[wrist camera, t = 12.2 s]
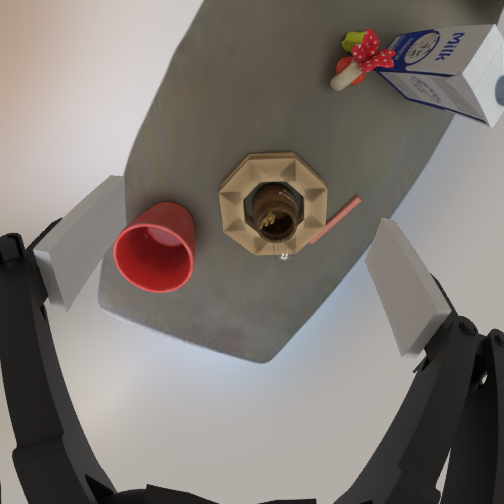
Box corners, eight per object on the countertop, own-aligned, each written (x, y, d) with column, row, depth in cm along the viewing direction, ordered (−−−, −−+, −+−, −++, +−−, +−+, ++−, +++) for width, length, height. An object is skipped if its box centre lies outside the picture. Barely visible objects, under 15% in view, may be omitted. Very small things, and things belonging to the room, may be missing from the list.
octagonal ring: (270, 131, 36) (271, 136, 34) (341, 199, 41) (347, 207, 39) (203, 204, 42) (200, 214, 40) (275, 259, 47) (275, 270, 45)
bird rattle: (354, 91, 34) (398, 50, 27) (357, 126, 28) (417, 74, 21) (318, 63, 32) (361, 18, 26) (311, 89, 26) (369, 29, 19)
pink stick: (356, 194, 41) (358, 197, 40) (359, 198, 41) (361, 200, 40) (307, 238, 45) (308, 241, 44) (311, 241, 45) (311, 244, 45)
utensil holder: (264, 226, 44) (266, 278, 34) (244, 191, 41) (240, 236, 31) (301, 210, 42) (315, 259, 32) (283, 173, 39) (292, 213, 29)
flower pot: (211, 250, 47) (201, 291, 38) (147, 256, 47) (128, 295, 39) (198, 187, 41) (182, 219, 33) (129, 197, 42) (101, 229, 33)
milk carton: (397, 34, 27) (496, 22, 10) (431, 67, 29) (535, 84, 12) (371, 68, 31) (463, 74, 14) (407, 101, 32) (505, 135, 16)
